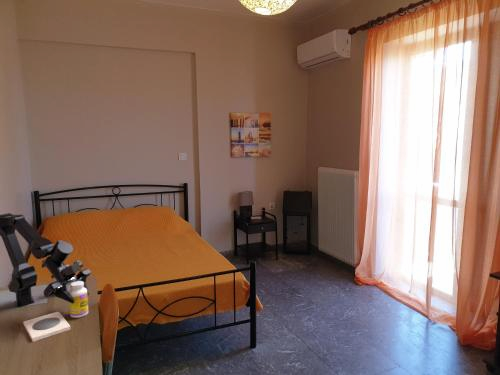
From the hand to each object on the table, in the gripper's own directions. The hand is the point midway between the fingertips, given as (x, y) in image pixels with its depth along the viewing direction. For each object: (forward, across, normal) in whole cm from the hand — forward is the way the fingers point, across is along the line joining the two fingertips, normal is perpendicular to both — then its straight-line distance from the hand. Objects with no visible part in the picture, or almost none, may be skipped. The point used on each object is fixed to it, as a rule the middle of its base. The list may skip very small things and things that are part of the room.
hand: (81, 299), depth 142 cm
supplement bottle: (+4, 0, +6) cm, 7 cm away
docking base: (+1, -12, +8) cm, 14 cm away
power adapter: (-13, +13, +23) cm, 29 cm away
